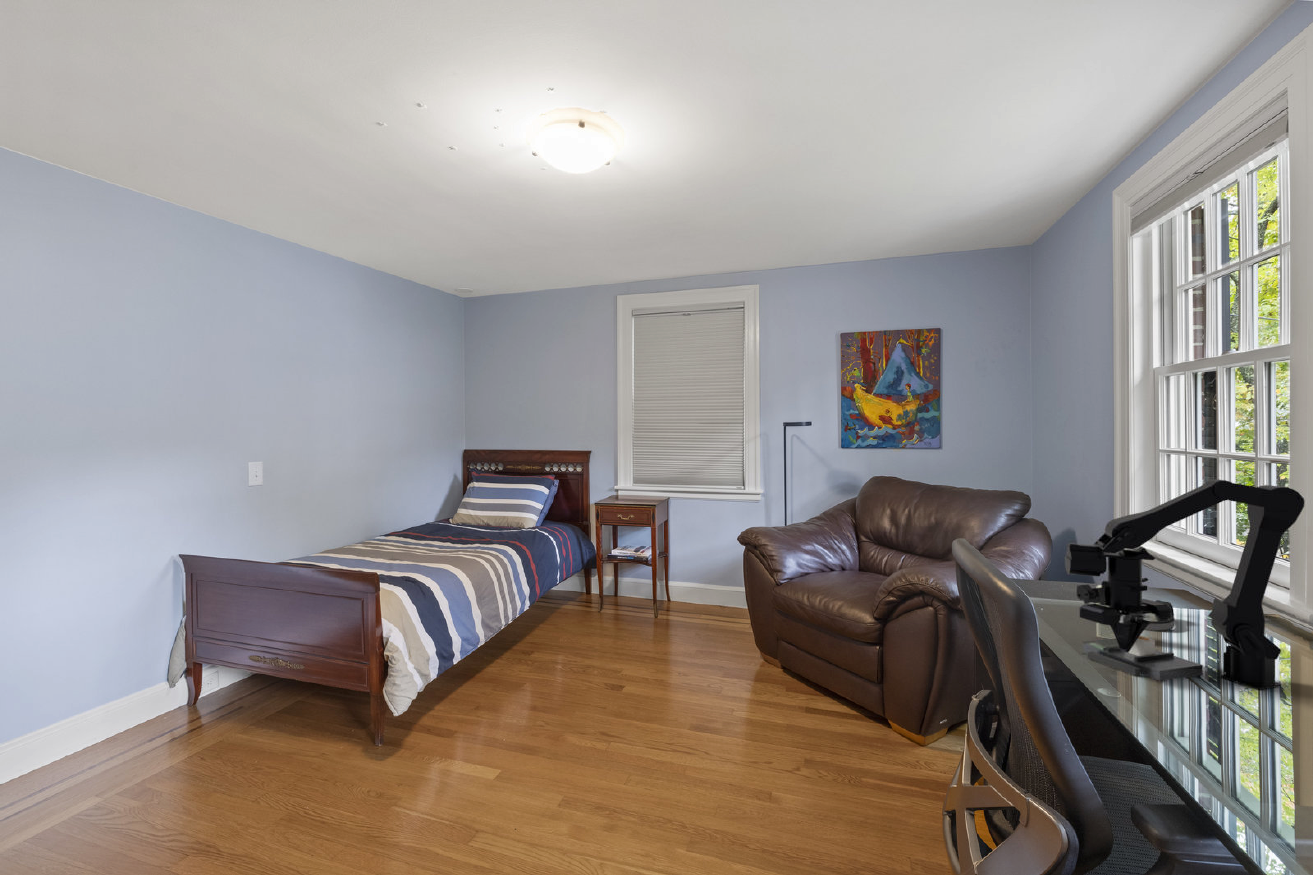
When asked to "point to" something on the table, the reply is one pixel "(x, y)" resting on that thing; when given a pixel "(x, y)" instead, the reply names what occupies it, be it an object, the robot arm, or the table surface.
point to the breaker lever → (1143, 646)
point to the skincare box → (1104, 627)
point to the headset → (1161, 623)
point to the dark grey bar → (1114, 663)
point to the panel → (1148, 661)
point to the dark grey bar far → (1099, 641)
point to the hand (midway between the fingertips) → (1124, 651)
